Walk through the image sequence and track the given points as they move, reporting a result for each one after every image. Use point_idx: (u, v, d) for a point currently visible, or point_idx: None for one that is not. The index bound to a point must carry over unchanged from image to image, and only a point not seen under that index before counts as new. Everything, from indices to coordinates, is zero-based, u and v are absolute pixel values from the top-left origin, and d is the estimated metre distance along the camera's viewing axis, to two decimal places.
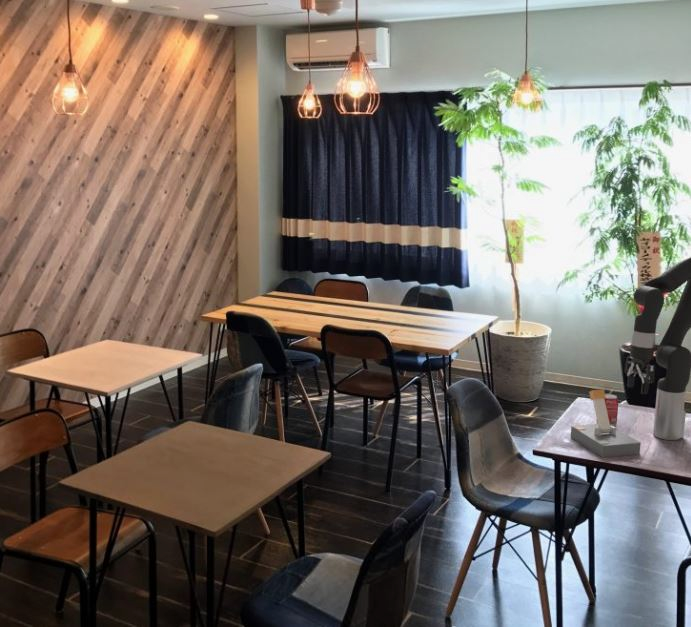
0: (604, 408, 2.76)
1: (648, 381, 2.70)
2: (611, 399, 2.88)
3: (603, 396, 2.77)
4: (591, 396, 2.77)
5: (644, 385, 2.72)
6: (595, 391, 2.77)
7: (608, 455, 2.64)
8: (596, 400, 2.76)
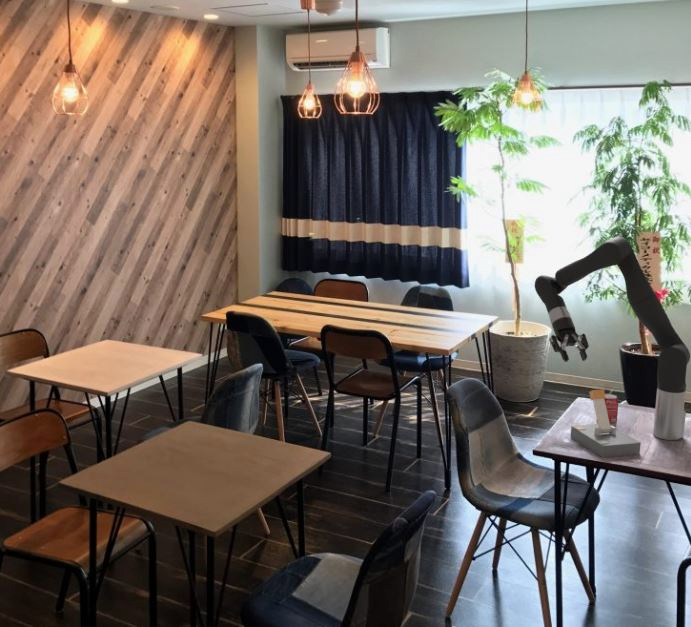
0: (604, 408, 2.76)
1: (554, 350, 2.92)
2: (611, 399, 2.88)
3: (603, 396, 2.77)
4: (591, 396, 2.77)
5: None
6: (595, 391, 2.77)
7: (608, 455, 2.64)
8: (596, 400, 2.76)
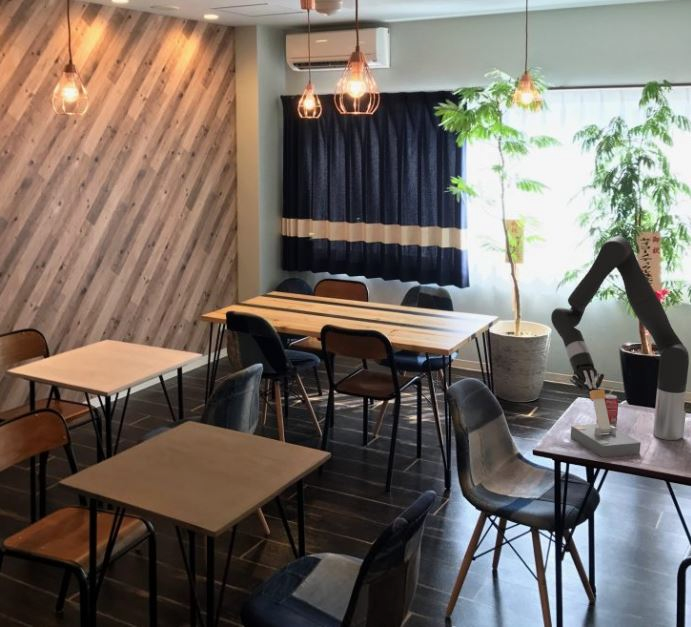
0: (604, 408, 2.76)
1: (581, 388, 2.82)
2: (611, 399, 2.88)
3: (603, 396, 2.77)
4: (591, 396, 2.77)
5: None
6: (595, 391, 2.77)
7: (608, 455, 2.64)
8: (596, 400, 2.76)
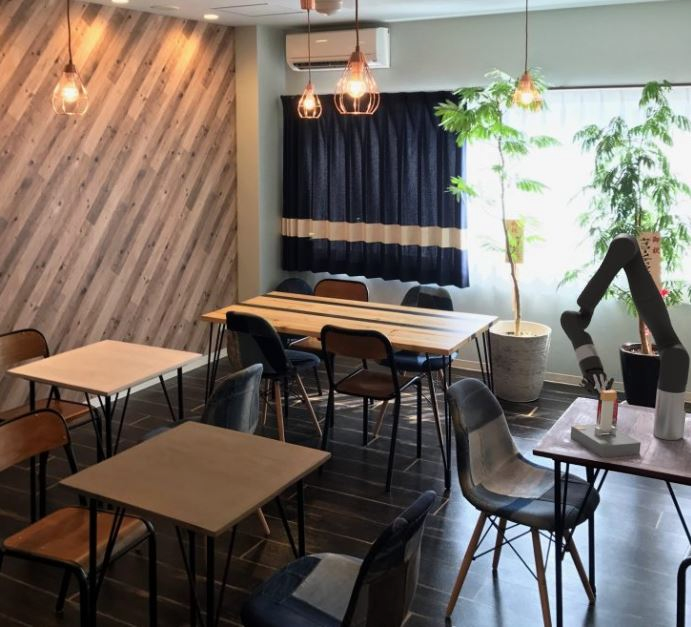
0: (611, 410, 2.72)
1: (590, 393, 2.76)
2: None
3: (613, 399, 2.71)
4: (602, 396, 2.71)
5: None
6: (607, 394, 2.70)
7: (608, 455, 2.64)
8: (605, 402, 2.71)
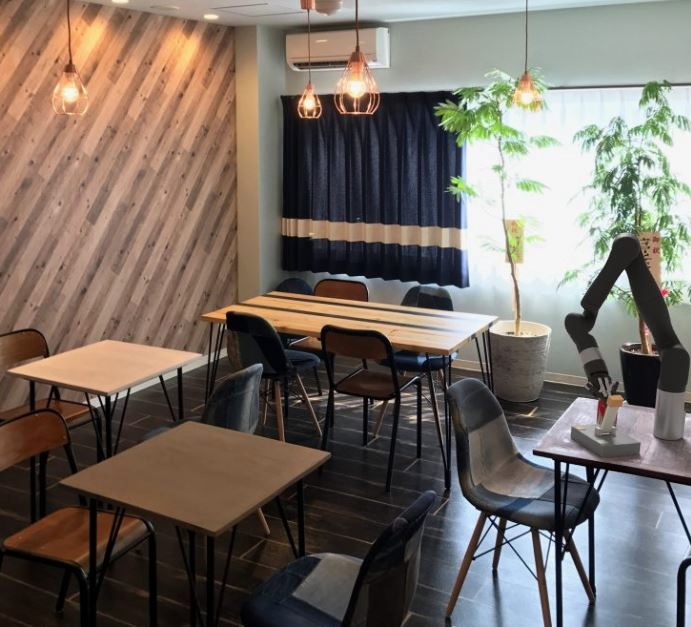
0: (615, 414, 2.70)
1: (595, 396, 2.73)
2: None
3: (619, 405, 2.67)
4: (608, 401, 2.68)
5: None
6: (614, 401, 2.66)
7: (608, 455, 2.64)
8: (611, 407, 2.68)
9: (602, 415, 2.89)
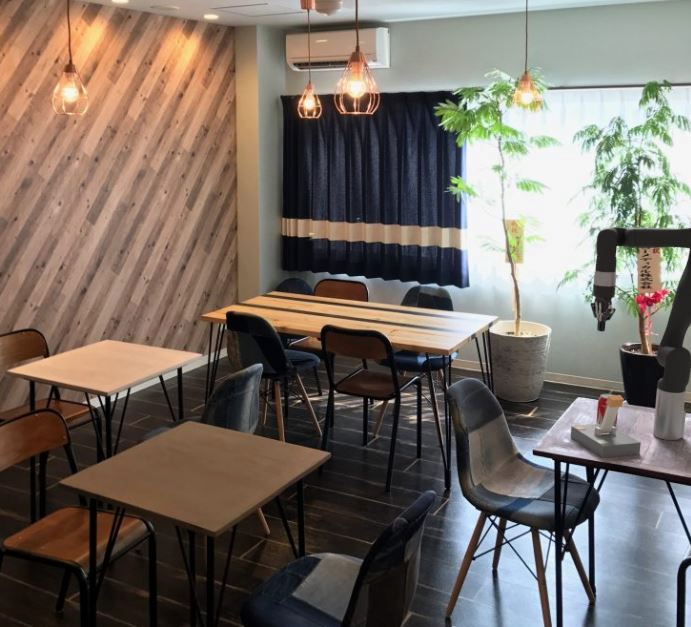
0: (615, 414, 2.70)
1: (604, 319, 2.86)
2: None
3: (619, 405, 2.67)
4: (608, 401, 2.68)
5: (601, 323, 2.88)
6: (614, 401, 2.66)
7: (608, 455, 2.64)
8: (611, 407, 2.68)
9: (602, 415, 2.89)
